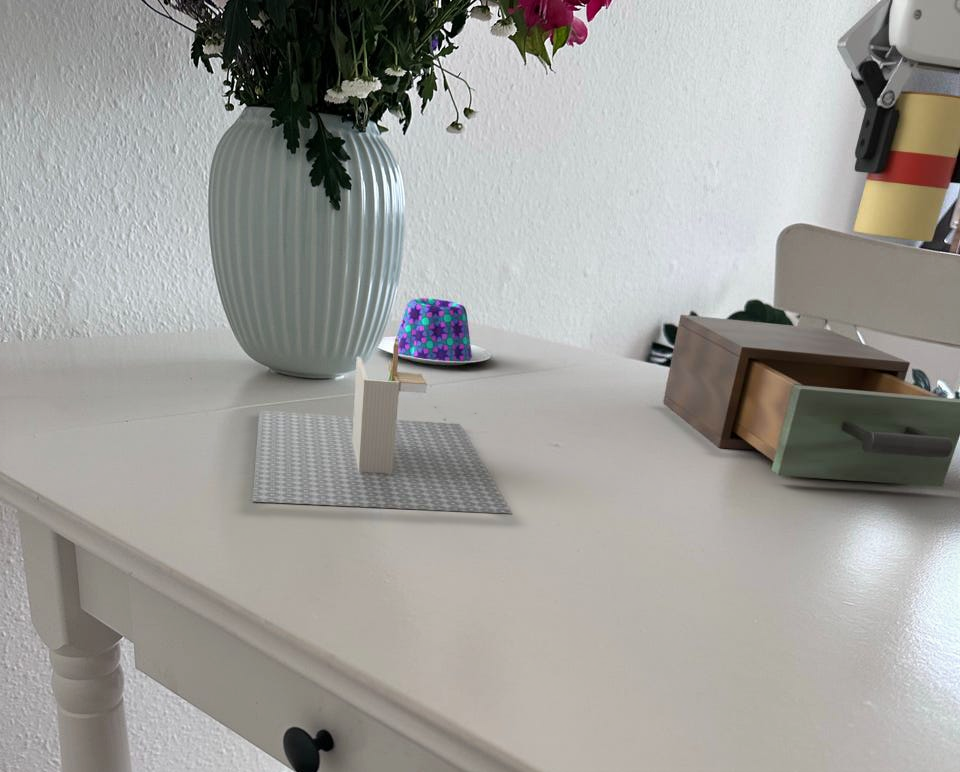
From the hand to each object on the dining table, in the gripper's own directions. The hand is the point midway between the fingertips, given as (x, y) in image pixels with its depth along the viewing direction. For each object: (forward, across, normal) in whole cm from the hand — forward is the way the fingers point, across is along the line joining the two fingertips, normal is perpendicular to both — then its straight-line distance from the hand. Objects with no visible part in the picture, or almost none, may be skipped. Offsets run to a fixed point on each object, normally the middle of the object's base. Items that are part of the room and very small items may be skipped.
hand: (909, 174), depth 70 cm
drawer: (+20, -2, -4) cm, 21 cm away
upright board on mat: (+21, -38, -7) cm, 44 cm away
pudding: (+21, -30, +29) cm, 47 cm away
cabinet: (+21, -2, +8) cm, 23 cm away
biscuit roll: (+4, 0, 0) cm, 4 cm away
